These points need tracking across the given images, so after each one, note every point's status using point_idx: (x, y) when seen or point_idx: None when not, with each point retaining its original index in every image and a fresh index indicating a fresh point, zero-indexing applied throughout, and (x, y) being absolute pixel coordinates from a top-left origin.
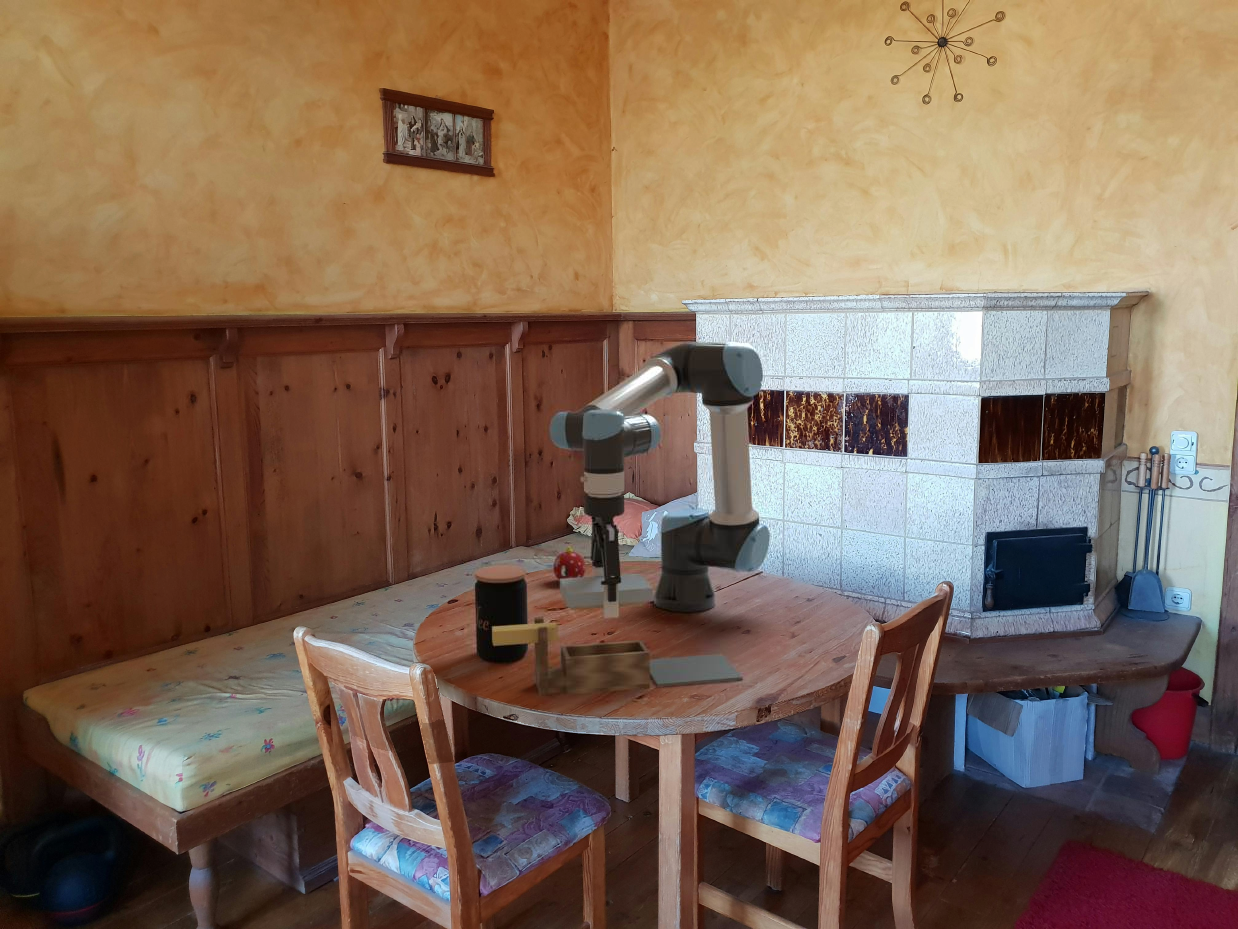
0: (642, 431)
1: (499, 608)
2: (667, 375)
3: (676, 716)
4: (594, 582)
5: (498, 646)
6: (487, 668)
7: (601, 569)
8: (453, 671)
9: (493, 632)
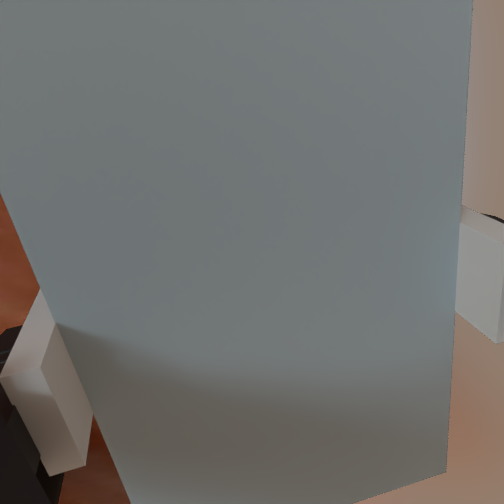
0: None
1: None
2: None
3: None
4: (249, 385)
5: (61, 473)
6: (100, 448)
7: (63, 402)
8: (125, 501)
9: None
